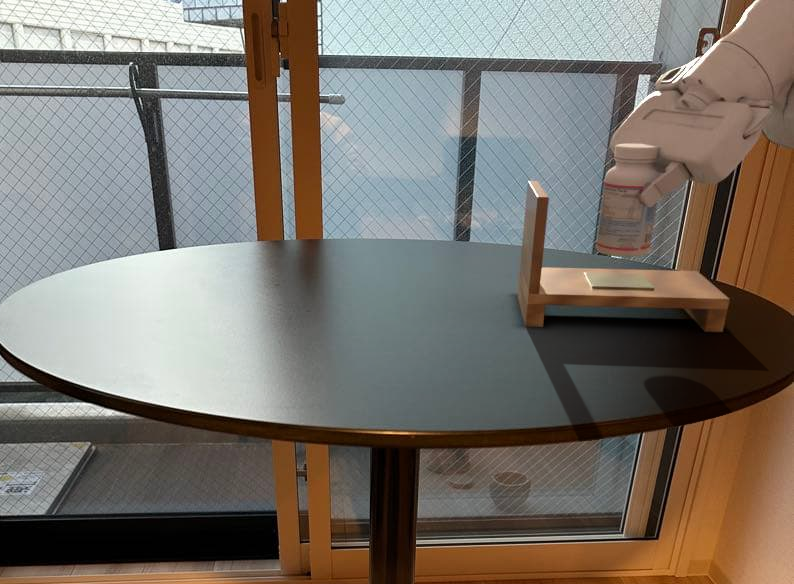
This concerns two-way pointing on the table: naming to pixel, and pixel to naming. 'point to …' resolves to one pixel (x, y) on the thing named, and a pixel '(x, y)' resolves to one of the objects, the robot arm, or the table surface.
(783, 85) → the robot arm
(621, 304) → the shelf
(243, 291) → the table surface
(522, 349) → the table surface
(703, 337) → the table surface
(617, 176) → the pill bottle
